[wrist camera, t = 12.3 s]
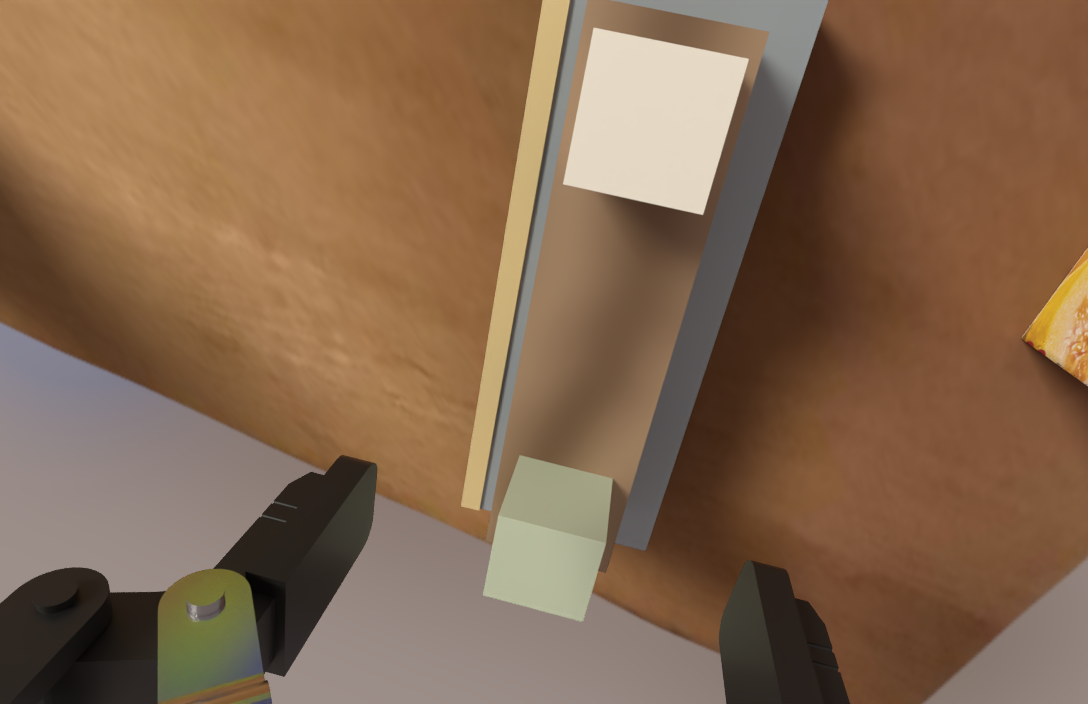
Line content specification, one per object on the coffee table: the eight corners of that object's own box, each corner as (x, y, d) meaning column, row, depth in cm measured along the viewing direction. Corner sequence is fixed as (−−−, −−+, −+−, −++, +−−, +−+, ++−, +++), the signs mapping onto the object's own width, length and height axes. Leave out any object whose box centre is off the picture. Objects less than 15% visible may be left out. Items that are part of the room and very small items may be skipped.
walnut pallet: (506, 483, 33) (485, 541, 29) (599, 9, 23) (588, -4, 19) (611, 510, 32) (605, 572, 28) (749, 39, 23) (769, 31, 19)
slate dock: (480, 462, 37) (460, 506, 33) (567, -44, 26) (553, -65, 23) (646, 504, 37) (645, 553, 33) (806, 2, 26) (833, -11, 22)
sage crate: (504, 528, 28) (482, 595, 24) (519, 455, 26) (498, 515, 23) (592, 550, 28) (582, 621, 24) (612, 478, 26) (606, 542, 23)
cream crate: (578, 165, 21) (563, 184, 18) (604, 36, 20) (593, 27, 16) (694, 191, 21) (702, 214, 17) (731, 62, 19) (749, 58, 16)
